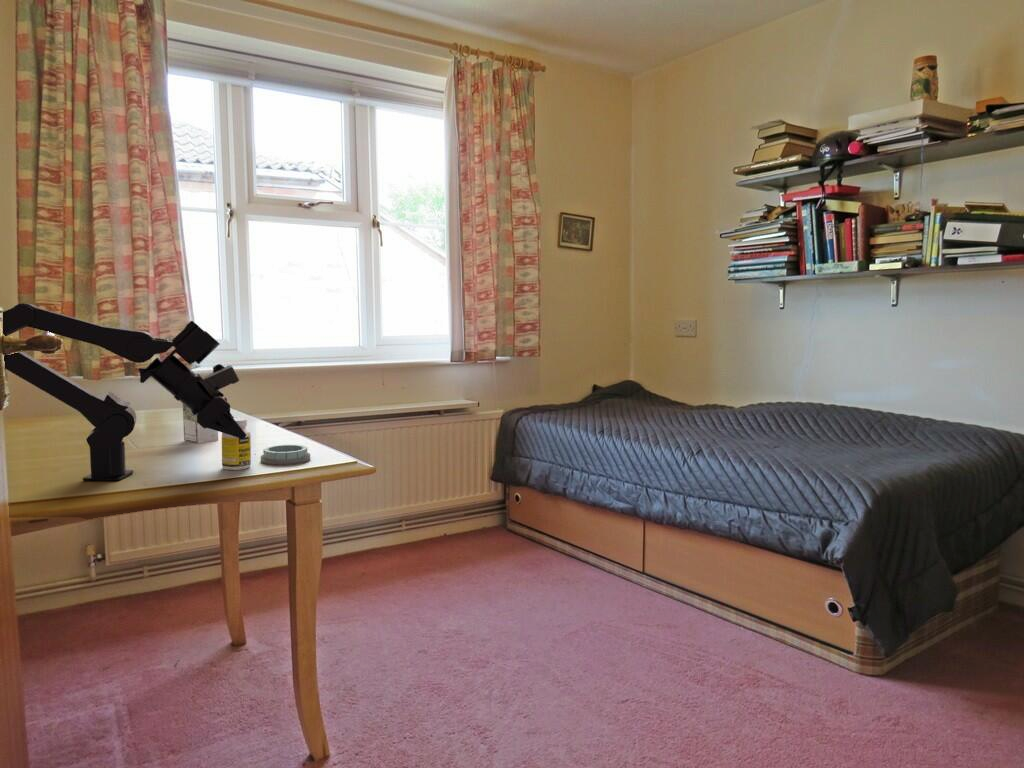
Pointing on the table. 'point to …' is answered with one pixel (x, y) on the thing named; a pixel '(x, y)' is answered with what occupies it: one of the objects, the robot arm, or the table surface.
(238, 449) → the supplement bottle
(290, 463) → the socket plate
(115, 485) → the table surface
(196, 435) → the syrup box
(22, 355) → the robot arm
